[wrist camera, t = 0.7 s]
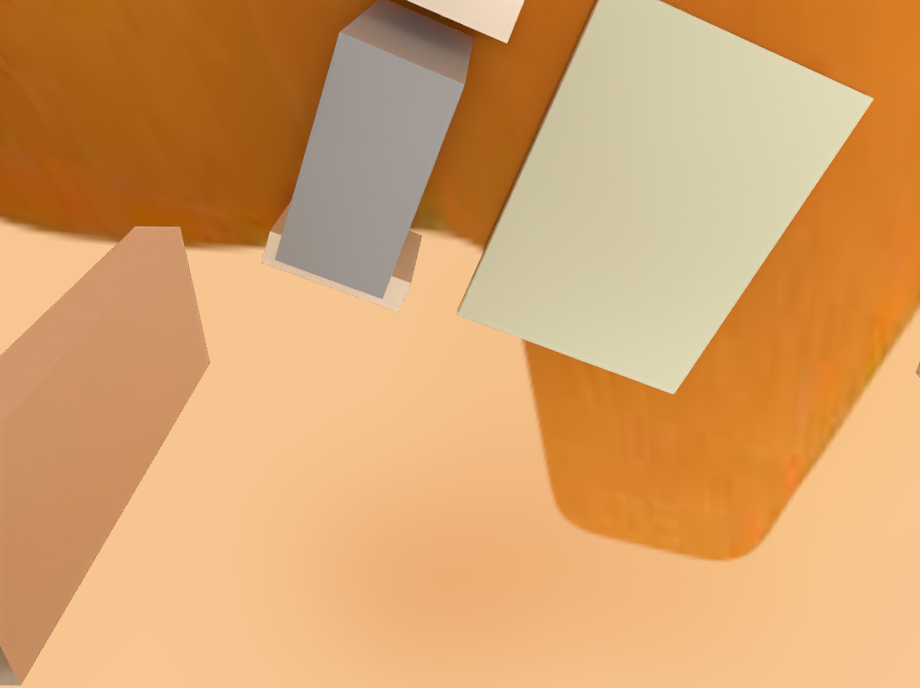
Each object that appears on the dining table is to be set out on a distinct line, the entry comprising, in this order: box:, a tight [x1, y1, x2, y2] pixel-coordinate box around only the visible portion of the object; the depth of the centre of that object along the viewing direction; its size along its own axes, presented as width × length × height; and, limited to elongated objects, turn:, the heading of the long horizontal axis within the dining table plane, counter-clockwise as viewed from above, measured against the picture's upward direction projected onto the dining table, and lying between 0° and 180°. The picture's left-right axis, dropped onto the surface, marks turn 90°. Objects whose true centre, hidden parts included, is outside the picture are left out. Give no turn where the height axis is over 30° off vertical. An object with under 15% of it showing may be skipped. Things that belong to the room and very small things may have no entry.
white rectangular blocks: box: [262, 0, 524, 312], centre depth 30 cm, size 6×13×5 cm, turn 158°
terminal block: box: [275, 0, 474, 299], centre depth 28 cm, size 4×8×9 cm, turn 158°
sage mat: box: [457, 0, 873, 394], centre depth 33 cm, size 12×16×1 cm
